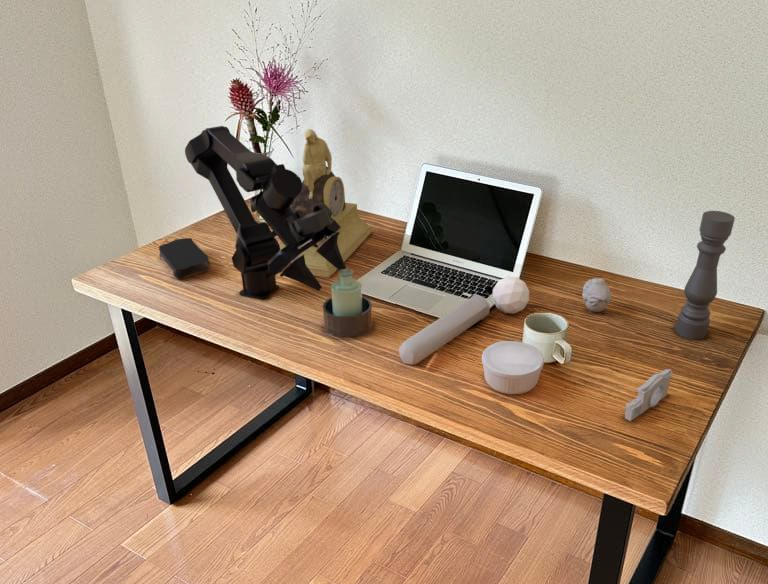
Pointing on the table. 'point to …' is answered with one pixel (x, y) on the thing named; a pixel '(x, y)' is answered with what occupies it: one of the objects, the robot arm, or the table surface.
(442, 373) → the table surface
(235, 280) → the table surface
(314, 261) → the decorative clock
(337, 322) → the cup
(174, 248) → the black sponge
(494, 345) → the ramekin
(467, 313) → the tube
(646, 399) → the garden wall model
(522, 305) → the ball
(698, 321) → the candle holder
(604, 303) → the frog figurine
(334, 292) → the bottle
